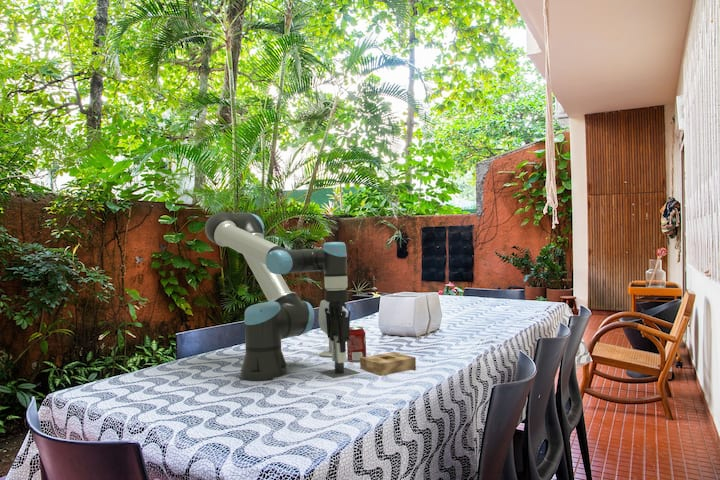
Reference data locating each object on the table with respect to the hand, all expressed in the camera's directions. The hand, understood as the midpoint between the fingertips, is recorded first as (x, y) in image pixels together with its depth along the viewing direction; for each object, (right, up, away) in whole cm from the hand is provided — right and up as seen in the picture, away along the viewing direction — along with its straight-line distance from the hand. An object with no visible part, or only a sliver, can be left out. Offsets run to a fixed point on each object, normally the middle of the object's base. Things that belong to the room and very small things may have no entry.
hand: (339, 361), depth 164 cm
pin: (0, -4, 0) cm, 4 cm away
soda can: (+6, -4, +18) cm, 19 cm away
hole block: (+16, -3, +3) cm, 17 cm away
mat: (0, -4, 0) cm, 4 cm away
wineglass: (-4, -5, +30) cm, 31 cm away
